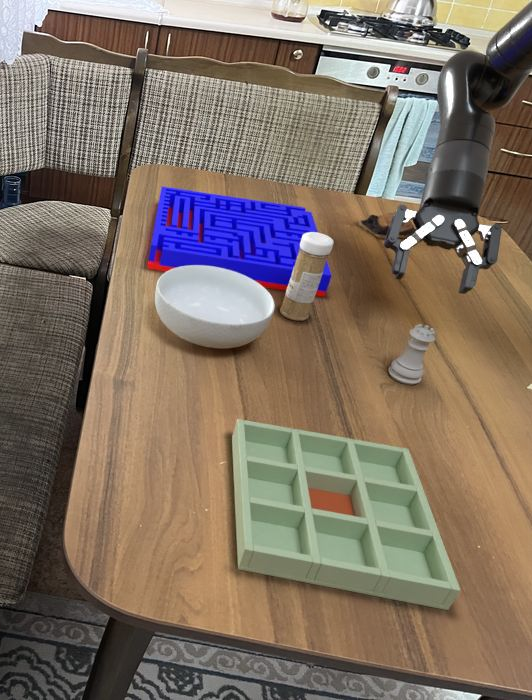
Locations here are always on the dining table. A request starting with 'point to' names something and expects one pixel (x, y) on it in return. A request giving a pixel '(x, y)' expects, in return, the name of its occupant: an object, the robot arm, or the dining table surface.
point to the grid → (337, 515)
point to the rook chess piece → (412, 356)
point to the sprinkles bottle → (306, 275)
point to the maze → (231, 236)
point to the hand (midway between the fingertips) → (431, 284)
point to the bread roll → (385, 226)
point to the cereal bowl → (213, 306)
